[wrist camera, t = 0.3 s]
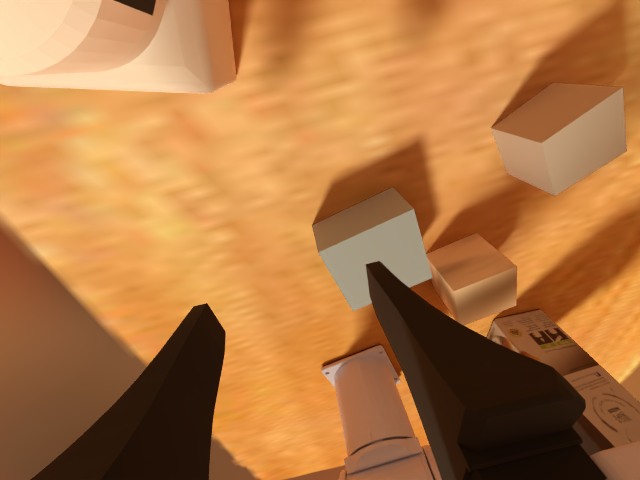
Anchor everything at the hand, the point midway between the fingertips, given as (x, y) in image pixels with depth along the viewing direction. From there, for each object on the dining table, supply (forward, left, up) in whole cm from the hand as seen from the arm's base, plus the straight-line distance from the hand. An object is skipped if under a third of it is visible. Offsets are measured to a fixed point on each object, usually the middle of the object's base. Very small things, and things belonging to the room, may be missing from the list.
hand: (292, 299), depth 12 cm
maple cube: (-13, -12, -10) cm, 20 cm away
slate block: (-6, -5, -10) cm, 13 cm away
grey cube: (-3, -19, -10) cm, 21 cm away
